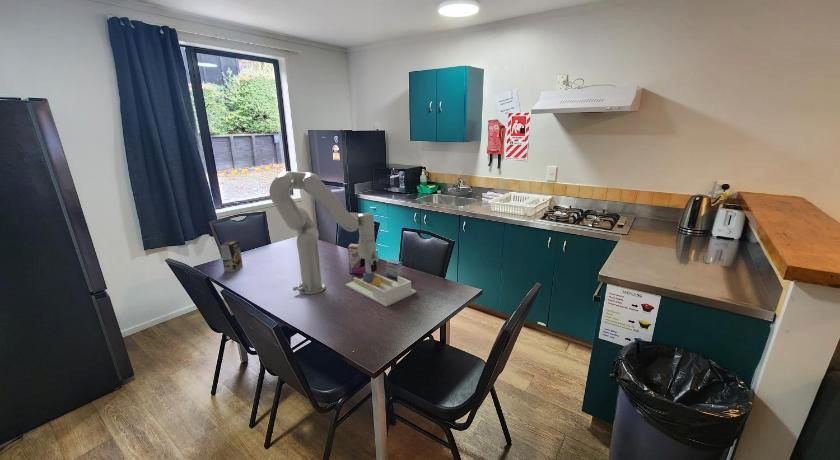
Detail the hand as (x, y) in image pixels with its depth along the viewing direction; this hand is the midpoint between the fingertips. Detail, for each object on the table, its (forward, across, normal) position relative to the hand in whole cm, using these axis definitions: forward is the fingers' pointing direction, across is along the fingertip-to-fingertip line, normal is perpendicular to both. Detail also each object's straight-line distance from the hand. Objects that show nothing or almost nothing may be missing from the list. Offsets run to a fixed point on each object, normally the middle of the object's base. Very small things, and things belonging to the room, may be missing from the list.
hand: (368, 268), depth 179 cm
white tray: (+9, +9, 0) cm, 12 cm away
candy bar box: (+9, -16, +6) cm, 19 cm away
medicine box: (+9, +2, +16) cm, 18 cm away
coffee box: (+9, -74, -42) cm, 86 cm away
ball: (+5, +6, 0) cm, 8 cm away
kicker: (+7, 0, 0) cm, 7 cm away
